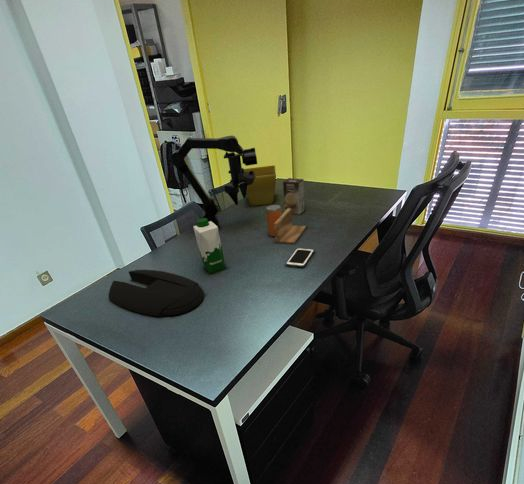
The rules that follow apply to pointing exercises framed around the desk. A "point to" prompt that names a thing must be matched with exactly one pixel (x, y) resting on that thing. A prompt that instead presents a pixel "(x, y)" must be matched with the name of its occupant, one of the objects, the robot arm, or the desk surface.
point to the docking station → (157, 293)
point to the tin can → (272, 217)
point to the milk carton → (209, 245)
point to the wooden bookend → (287, 229)
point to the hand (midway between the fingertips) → (240, 201)
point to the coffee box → (294, 195)
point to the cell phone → (300, 257)
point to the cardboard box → (262, 185)
